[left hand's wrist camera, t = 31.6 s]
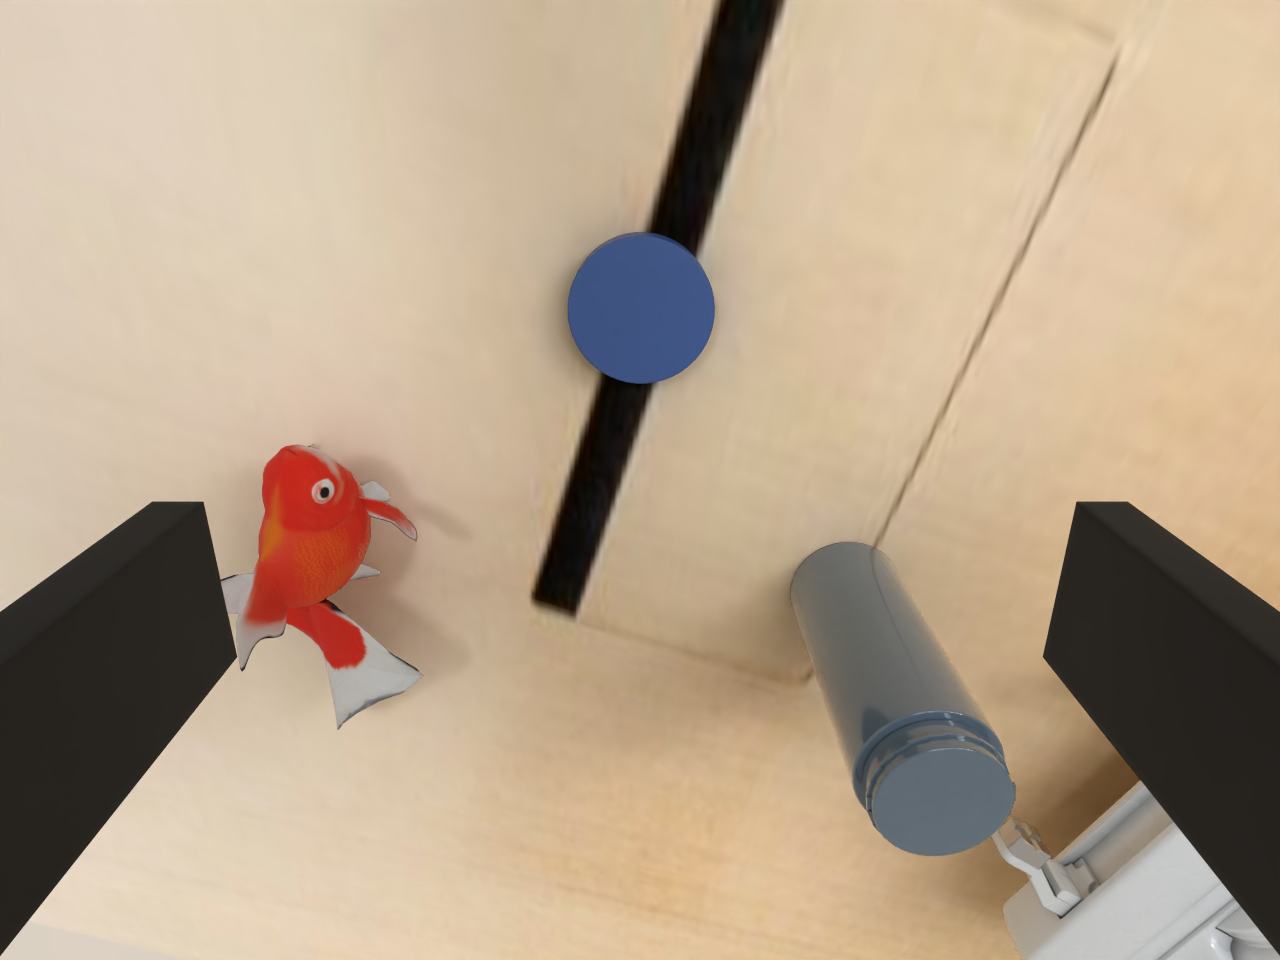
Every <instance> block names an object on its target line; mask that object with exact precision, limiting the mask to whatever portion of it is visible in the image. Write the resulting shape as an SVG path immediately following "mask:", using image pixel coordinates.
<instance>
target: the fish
mask: <svg viewBox="0 0 1280 960" xmlns="http://www.w3.org/2000/svg"><path fill="white" fill-rule="evenodd" d="M313 445H314V444H313ZM310 446H312V445H310ZM310 446H304V445H291V446H286V447H284V448H282V449H281V450H280V451H279V452H278V453H277V454H276V455H275V456H274V457H273V458H272V459H271V460H270V461H269V462H268V463H267V464H266V466H265V468H264V472H263V487H262V496H263V503H264V507H265V514H264V518H263V522H262V526H261V529H260V533H259V560H258V562H257V565H256V567H255V570H254V573H250V574H240V575H233V576H230V577H227V578H224V579H221V585H222V590H223V594H224V599H225V603H226V608H227V613H237V614H239V616H238V619H237V621H236V643H237V650H238V657H239V663H240V669H241V671H243V670H244V669H245V667H246V664H247V661H248V659H249V656H250V654H251V651H252V650H253V648H254V646H255V645H256V644H257V643H258V642H259V641H260V640H262V639H265V638H275V637H279V636H281V635H283V633H284V630H285V625H286V623H287V624H290V625H292V626H293V627H295V628H297V629H299V630H301V631H302V632H303V633H305V634H306V635H308V636H309V637H310V638H311V639H312V640H314V641H315V643H316V644H317V645H318V646H319V648H320V649H321V651H322V653H323V655H324V657H325V661H326V665H327V670H328V674H329V680H330V685H331V691H332V696H333V701H334V706H335V712H336V719H337V730H338V729H340V727H341V726H342V724H343V723H345V722H346V721H347V720H348V719H350V718H351V717H352V716H354V715H355V714H356V713H358V712H360V711H362V710H364V709H366V708H367V707H369V706H371V705H373V704H375V703H377V702H378V701H381V700H384V699H387V698H390V697H392V696H395V695H398V694H401V693H403V692H404V691H406V690H407V689H408V688H409V687H410V686H412V685H413V684H414V683H415V682H416V681H418V680H419V679H420V678H421V677H422V676H424V675H423V674H421V673H420V672H419V671H418V670H417V669H416V668H415V667H413V666H411V665H410V664H408V663H406V662H405V661H403V660H401V659H400V658H398V657H396V656H395V655H393V654H391V653H390V652H389V651H388V650H387V649H386V648H384V647H383V646H382V645H381V644H380V643H379V642H378V641H376V640H375V639H374V638H373V637H372V636H371V635H369V634H368V633H367V632H366V631H365V630H364V629H362V628H361V627H360V626H359V625H358V624H356V623H355V622H354V621H353V620H352V619H351V618H349V617H348V616H347V615H346V614H345V613H343V612H342V611H341V610H340V609H339V608H338V607H336V606H335V605H334V604H333V603H332V602H330V601H329V600H327V599H326V598H327V597H329V596H330V595H332V594H333V593H335V592H336V591H338V590H339V589H341V588H342V587H343V586H344V585H345V584H346V583H347V582H348V581H350V580H354V579H359V578H364V577H370V576H377V575H379V574H380V573H381V572H380V571H378V570H375V569H373V568H371V567H369V566H366V565H364V564H361V563H362V561H363V559H364V556H365V553H366V551H367V548H368V545H369V543H370V538H371V517H374V518H377V519H381V520H385V521H388V522H391V523H393V524H394V525H396V526H397V527H398V528H399V529H400V530H401V531H402V532H403V533H404V534H406V535H407V536H408V537H410V538H411V539H414V540H417V532H416V529H415V527H414V526H413V524H412V523H411V522H410V521H409V520H408V519H407V518H406V516H405V515H404V514H403V513H402V512H401V511H400V510H399V509H397V508H395V507H393V506H391V505H389V504H387V503H385V501H388V500H389V498H390V494H389V493H388V491H387V490H386V489H384V488H383V487H382V486H381V485H380V484H378V483H377V482H375V481H369V482H367V483H365V484H364V485H360V483H359V482H358V480H357V479H356V478H355V477H354V476H353V475H352V473H351V472H350V471H349V470H348V469H346V468H345V467H344V466H343V465H342V464H340V463H339V462H338V461H336V460H335V459H333V458H332V457H331V456H329V455H327V454H326V453H324V452H322V451H320V450H318V449H315V448H312V447H310ZM370 516H371V517H370Z"/></svg>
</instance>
